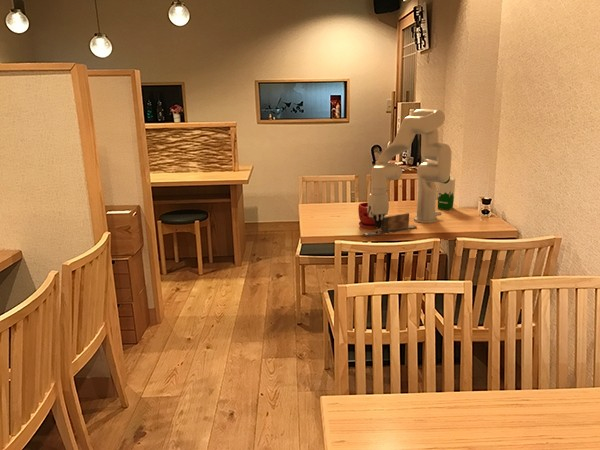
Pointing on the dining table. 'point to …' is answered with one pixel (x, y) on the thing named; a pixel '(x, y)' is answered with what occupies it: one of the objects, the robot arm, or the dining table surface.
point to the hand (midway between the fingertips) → (377, 227)
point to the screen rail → (388, 231)
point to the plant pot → (365, 217)
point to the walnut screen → (395, 222)
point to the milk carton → (446, 194)
